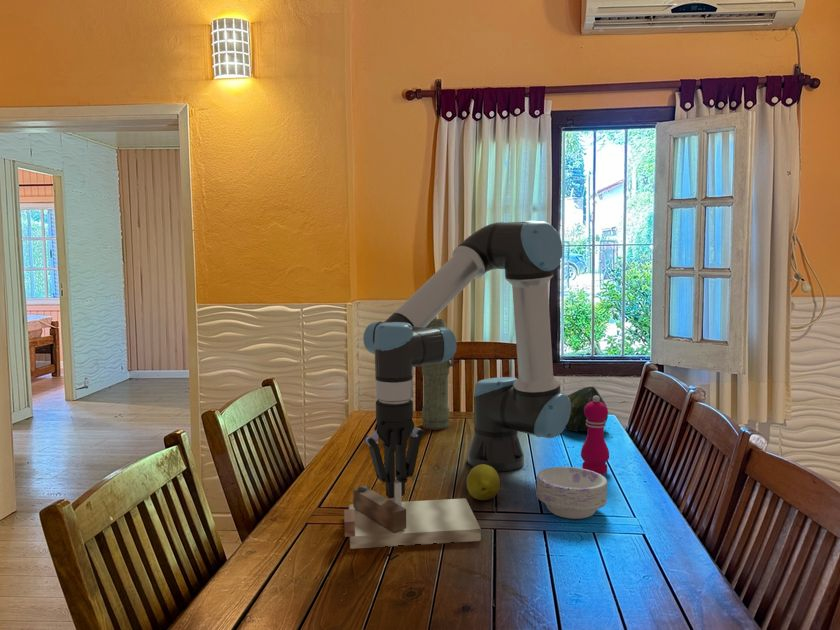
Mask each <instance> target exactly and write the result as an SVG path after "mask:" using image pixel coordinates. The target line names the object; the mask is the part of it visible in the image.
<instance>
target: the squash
mask: <svg viewBox="0 0 840 630" xmlns="http://www.w3.org/2000/svg"><path fill="white" fill-rule="evenodd" d="M567 396H568V398H569V399H570V402H571V414H570V418H569V421H568V423H567V425H566V427H565V428H564V429H566V430H568V431H572V432H579V431H581V432H586V431H587V432H588V427H587V425H586V419H587V417H586V416H585V414H584V408H585V406H586V404H588V403H589V402H592V401H593V397H594V396H599V398H600V401H599V402H602V403H604V404H605V405H606V403H605V401H604V399H603V397H602V396H601V395H600V394H599V391H598V390H597V388H595V386H587V387H583V388H581V389H578V390H576V391H574V392H572V393H569V394H568V395H567ZM606 407H607V408H608V406H607V405H606ZM608 417H609V414H608V415H607V417H606V418H605V421H606V423H607V420H608ZM606 423H605V424H606Z"/></svg>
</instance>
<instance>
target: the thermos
mask: <svg viewBox="0 0 840 630" xmlns="http://www.w3.org/2000/svg"><path fill="white" fill-rule="evenodd" d="M435 326H436V327H447V324H446V321H445V320H444V319H442V318H434V319H433V320H432V321H431V322H430V323H429V324H428V325H427V326H426V327H425V328H433V327H435ZM447 328H448V327H447ZM454 360H455V359H454V356H453V357H452V358H451V359H449V360H446V361H443V362H441V363H434V364H428V365H422V366H420V367H421V374H422V377H423V406H422V408H421V419H422V428H424V429H425V430H426V429H427V430H431V429H432V430H433V431H434V430H436V431H439V430H438V429H441V430H445V429H448V428H449V427H450V421H449V420H450V406H449V403H448V402H449V396H448V395H449V394H448V393H449V391H448V390H449V389H448V387H449V385H448V384H449V381H448V380H449V377H448V376H449V374H450V367H453V366H454Z"/></svg>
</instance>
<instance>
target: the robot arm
mask: <svg viewBox="0 0 840 630" xmlns="http://www.w3.org/2000/svg"><path fill="white" fill-rule="evenodd" d="M562 243H563V242H562V240H561V237H560V234H559V232H558V231H557V229H555V228H554V226H553V225H552V224H550V223H549V222H546V221H539V220H522V221H508V222H504V221H500V222H494V223H490V224H487V225H485V226H483V227H481V228H479V229H478V230H477V231H475V232H473V233H472V234H471V235H468V237H466V239H464V240H463V241H462V242H461V243H459V244H458V245H457V246H456V247H455V248H454V250H453V251H452V257H450V258H449V260H447V261H446V262H445V263H444V265H442V266H441V267H440V268H439V269H437V271H436V272H435V273H433V275H432V276H430V278H429V279H428V280H426V282H424V283H423V285H421V286H420V287H419V288H418V289H417V290H416V291H415V292H414V293H413V294H412V295H411V296H410V297H409V298H408V299H406V301H405V302H404V303H403V304H401V306H399V308H397V309H396V310H395V311H394V312H393V313H392V314H391V315H390V316H389V317H388V318H387V319H385V320H384V321H381V320H380V321H374V322H371V323H369V325H368V326H367V327H366V328H365V330H364V332H363V338H362V339H363V340H362V341H363V345H364V347H365V349H366V350H367V351H368V352H369V353H371V354H372V355H374V369H375V370H374V371H375V372H374V373H375V398H376V399H377V400H376V401H375V418H376V419H375V420H376V423H375V426H374V429H373V430H374V431H372V433H371V434H370V435H365V436H364V438H363V441H364V442H365V443H366V445H367V446H368V449H369V453H370V456H371V457H370V458H371V460H372V464H373V468H374V469H373V470H374V472H375V476H376V478H377V479H378V480H379V481H381V482H382V483H385V496H386V498H387V499H389V500H391V501H393V502H394V503H396V504H398V505H400V506H402V502H403V501H402V500H403V499H402V498H403V497H404V496H405V493H406V483H407V482H408V480H409V479H408V478H412V477H413V476H414V474H415V470H416V469H415V468H416V465H417V461H418V460H417V459H418V454H419V449H420V444H421V441H422V439H423V437H424V435H425V433H426V432H425V431H424V429H421V428H420V427H416V426H415V421H414V420H413V417H414V402H413V400H412V398H414V393H413V392H414V384H413V383H414V381H413V380H414V379H413V378H414V377H413V376H414V375H413V374H414V368H416V367H421V366H422V365H428V364H434V363H441V362H443V361H446V360H449V361H450V360H451V358H452V357H453V356H454V355H455V354H456V352H457V338H456V335H455V334H454V332H453V330H451V328H449V327H436V326H435V327H433V328H425V327H426V326H427V325H428V324H429V323H430V322H431V321H432V320H433V319H436V317H438V315H439V314H440V313H441V312H442V311H443V310H445V308H446V307H447V306H448V305H449V304H450V303H451V302H452V301H453V300H454V299H455V298H456V297H457V296H459V294H460V293H461V292H462V291H463V290H464V289H465V288H466V287H467V286H468V285H469V284H470V283H471V282H472V281H473V280H474V279H479V278H482V276H483V275H485V274H486V273H487V272H489V271H492V270H504V277H505V280H506V281H507V282H508V283H509V284H511V286H512V301H513V316H514V329H515V331H514V332H515V342H516V343H515V344H516V358H517V359H516V361H517V372H518V378H517V377H514V376H513V377H512V376H510V377H509V376H501V377H500V376H499V377H490V378H484V379H481V380H478V381H477V382H476V383H475V385H474V395H473V417H474V418H473V420H474V421H473V425H474V428H473V431H474V432H473V433H474V434H473V437H472V440H471V443H470V446H469V449H468V452H467V464H468V465H469V466H470V467H472V468H474V467H475V466H477V465H481V464H485V465H489V466H491V467H493V468H494V469H495V470H496V472H509V471H514V470H517V469H520V468H521V467H523V466H524V464H525V463H524V462H525V456H524V451H523V448H522V445H521V443H520V439H519V435H518V432H520V433H524V434H527V435H532V436H534V437H537V438H545V439H554V438H556V437H558V436H559V435H561V434H562V433H563V431H564V430H565V429H566V428H565V427H566V425H567V423H568V421H569V418H570V414H571V402H570V399H569V398H568V395H567V394H566V393H564V392H561V383H560V381H559V380H558V379H557V378H556V377H555V376H554V368H553V350H552V349H553V348H552V335H551V333H552V332H551V316H550V301H549V284H548V283H549V282H550V281H551V279H553V277H554V270H556V269H557V268H558V266H559V265H560V264H561V259H562V258H563V244H562ZM379 439H380V441H381V442H382V448H383V454H384V455H383V456H382V453H381V449H380V446H379ZM408 439H409V441H408ZM407 442H408V443H407ZM382 457H383V458H382Z"/></svg>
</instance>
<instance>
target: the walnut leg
mask: <svg viewBox="0 0 840 630" xmlns="http://www.w3.org/2000/svg"><path fill="white" fill-rule="evenodd" d="M352 496H353V497H352V500H353V503H352V504H353V507H354V508H355V509H357V510H359V511H360V512H362V513H363V514H365V515H367V516H368V517H370V518H372V519H373V520H375V521H376V522H378V523H380V524H381V525H383V526H384V527H386V528H388V529H389V530H391V531H393V532H396V531H400V530H403V529H406V509H405V508H403V507H402V506H400V505H398V504H396V503H394V502H393V501H391V500H390V498H388V497H385V496H383V495H382V494H380V493H378V492H377V491H375V490H372V489H370V488H369V487H368V486H367V485H358V486H357V488H354V489H352Z"/></svg>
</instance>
